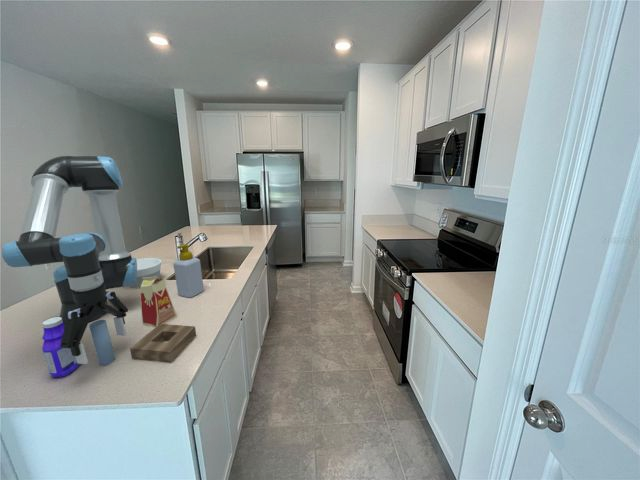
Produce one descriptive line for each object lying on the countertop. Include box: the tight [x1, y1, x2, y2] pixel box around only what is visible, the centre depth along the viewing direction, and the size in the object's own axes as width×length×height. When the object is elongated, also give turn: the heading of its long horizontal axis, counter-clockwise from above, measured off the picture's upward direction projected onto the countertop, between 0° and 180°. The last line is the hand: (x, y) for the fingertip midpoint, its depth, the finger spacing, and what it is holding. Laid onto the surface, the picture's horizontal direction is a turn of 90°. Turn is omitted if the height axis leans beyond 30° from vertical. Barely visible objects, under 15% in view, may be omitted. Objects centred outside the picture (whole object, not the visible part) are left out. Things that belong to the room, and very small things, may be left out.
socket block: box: [129, 323, 197, 364], centre depth 92 cm, size 14×14×4 cm
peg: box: [88, 319, 116, 367], centre depth 84 cm, size 4×4×14 cm
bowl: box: [128, 257, 162, 289], centre depth 142 cm, size 19×19×11 cm
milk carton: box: [140, 276, 178, 328], centre depth 106 cm, size 9×9×20 cm
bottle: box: [41, 316, 80, 378], centre depth 79 cm, size 7×6×17 cm
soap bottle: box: [172, 243, 205, 298], centre depth 128 cm, size 9×9×25 cm
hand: (103, 347), depth 84 cm, fingers open, 13 cm apart
